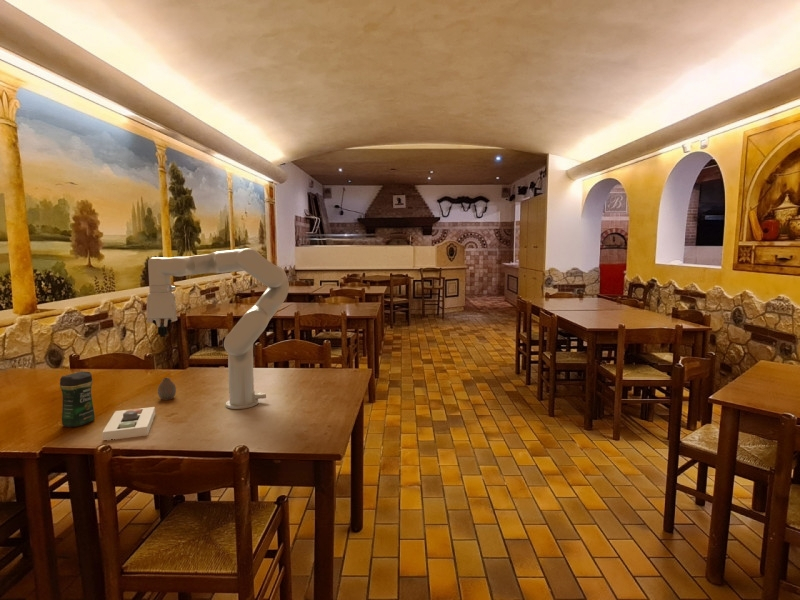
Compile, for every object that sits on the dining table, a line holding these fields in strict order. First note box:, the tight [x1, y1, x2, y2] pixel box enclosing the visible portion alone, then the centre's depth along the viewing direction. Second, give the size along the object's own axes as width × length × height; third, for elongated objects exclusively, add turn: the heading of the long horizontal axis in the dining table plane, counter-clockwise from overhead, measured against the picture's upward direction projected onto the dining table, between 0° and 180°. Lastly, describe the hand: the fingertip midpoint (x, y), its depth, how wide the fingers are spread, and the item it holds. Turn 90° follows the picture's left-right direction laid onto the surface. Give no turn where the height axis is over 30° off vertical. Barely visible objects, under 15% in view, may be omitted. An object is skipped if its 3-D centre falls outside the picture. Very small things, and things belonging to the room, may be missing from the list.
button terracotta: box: [127, 408, 141, 419], centre depth 170 cm, size 4×4×3 cm
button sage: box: [119, 421, 136, 429], centre depth 158 cm, size 4×4×3 cm
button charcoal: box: [122, 411, 138, 422], centre depth 164 cm, size 4×4×3 cm
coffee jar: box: [59, 370, 96, 428], centre depth 167 cm, size 10×8×19 cm
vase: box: [157, 377, 177, 401], centre depth 196 cm, size 7×7×9 cm
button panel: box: [101, 406, 156, 441], centre depth 164 cm, size 13×22×3 cm, turn 22°
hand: (162, 336), depth 180 cm, fingers closed
